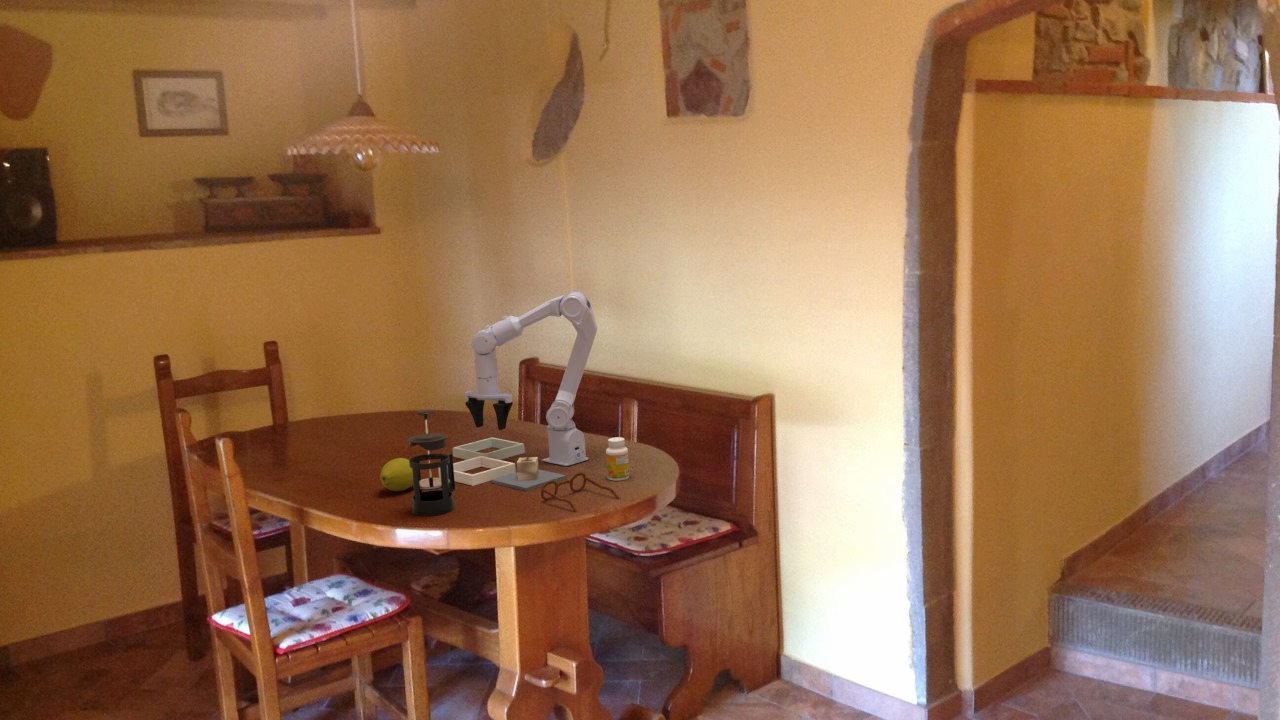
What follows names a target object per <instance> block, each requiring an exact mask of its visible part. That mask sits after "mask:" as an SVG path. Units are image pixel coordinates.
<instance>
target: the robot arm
mask: <svg viewBox="0 0 1280 720" xmlns="http://www.w3.org/2000/svg"><path fill="white" fill-rule="evenodd" d="M561 316H563V317H564V318H566V320H568V321H569V322H570V323H571V324H572V326H573V328H574V330H575V331H576V333H577V334H576V338H575V340H574V343H573V346H572V349H571V352H570V355H569V358H568V362H567V364H566V368H565V370H564V374H563V376H562V380H561V383H560V386H559V388H558V392H557V394H556V397H555V399H554V401H553V402H552V403H551V405H550V408H549V409H548V410H547V411H546V413H545V419H546V422H547V424H548V425H547V439H548V440H547V441H548V443H547V444H548V455H549V456H548V457H547V458H546V457H545V458H542V462H545V463H550V464H555V465H559V466H564V467H567V466H573V465H575V464H578V463H582V462H585V461H588V460H589V457H587V454H586V453H587V452H586V438H585V435H584V432H582V430H579V429H578V428H577V427H576V423H575V422H574V420H573V416H574V414H575V406H574V405H575V399H576V398H577V397H576V395H577V392H578V390H579V386H580V383H581V380H582V377H583V375H584V372H585V368H586V366H587V362H588V359H589V356H590V353H591V351H592V348H593V344H594V340H595V339H596V338H595V337H596V335H597V332H598V325H597V322H596V318H595V315H594V310H593V306H592V303H591V301H590V300H589V299H588V297H587V296H586V294H584V293H583V292H582V291H578V290H572V291H570V292H568V293H567V294H566V295H565V294H563V295H560V296H557V297H555V298H552V299H549V300H548V301H546V302H543V303H542V304H539V306H537V307H535V308H533V309H531V310H530V311H527V312H526V313H524V314H522V315H520V316H518V317H517V316H515V315H509V316H508V315H504V316H502V317H501V320H499V321H497V322H496V323H493V324H492V325H490V324H488V325H486V326H485V327H484V328H485V329H481V330H479V331H478V332H476V333H475V334H474V336H473V337H472V339H471V344H470V345H471V348H472V350H473V352H474V353H473V355H474V371H475V385H476V390H468V391H465V392H464V399H465V400H467V401H465V402H464V404H465V406H466V407H467V409H468V411H469V412H470V414H471V416H472V419H473V422H474V424H475V428H481V427H484V406H485V402H496V403H493V404H492V407H493V409H494V411H495V412H494V413H495V417H496V422H497V423H496V424H497V429H498V430H499V431H502V430H505V429H506V427H507V421H508V417H509V414H510V410H511V408H512V407H513V404H514V403H513V402H514V400H513V394H512V393H511V394H510V393H506V392H502V391H501V390H500V386H499V383H500V382H499V370H498V357H497V355H496V354H497V353H496V352H497V351H496V347H501V346H503V345H506V344H508V343H509V342H511V341H513V340H515V339H517V338H518V337H521V336H522V334H523V331H524V329H525V328H528V327H529V326H531V325H533V324H535V323H537V322H539V321H542V320H544V319H546V318H548V317H557V318H560V317H561Z"/></svg>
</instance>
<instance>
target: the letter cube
mask: <svg viewBox="0 0 1280 720" xmlns="http://www.w3.org/2000/svg"><path fill="white" fill-rule="evenodd" d="M516 468H517V469H516V470H517V471H516V472H518V480H537V478H538V475H539V470H540V468H539V458H538V456H531V457H530V456H529V457H519V458H518V460H517V461H516Z"/></svg>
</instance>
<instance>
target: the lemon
mask: <svg viewBox="0 0 1280 720" xmlns="http://www.w3.org/2000/svg"><path fill="white" fill-rule="evenodd" d="M379 479H380V482H381V484H382V485H383V487H384V488H385V489H387V490H389V491H392V492H396V493H397V492H402V491H406V490H408V489H409V488H410V487H413V485H412V484H413V483H414V482H413V470H412V468H410V466H409V459H407V458H404V457H397V458H393V459H391V460H389V461H388V462H386V463H385V464H384V465H383V467H382V468H381V470H380V474H379Z"/></svg>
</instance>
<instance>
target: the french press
mask: <svg viewBox="0 0 1280 720" xmlns="http://www.w3.org/2000/svg"><path fill="white" fill-rule="evenodd" d="M434 413H436V412H435V410H432V409H421V410H418V411H416V412H415V414H416V415H418V416H419V415H421V416H423V417H422V418H423V420H425V422H424V423H425V433H421V434H419V433H418V434H416V435H412V436H409V437H408V438H407V443H409V448H413V447H414V446H417V445H418V446H420V447H421V448H423V449H424V450H426V451H427V453H425V454H420V455H416V456H413V457H410V458H409V459H408V460H409V466H410V468H412V470H413V482H414V483H413V484H412V487H413V489H414V490H413V492H414V494H413V496H412V498H411V500H412V501H411V502H412V514H413V515H415V516H420V517H436V516H441V515H445V514H448V513H451V512H453V511H454V510H455V505H454V499H453V493H452V492H454V491H456V483H455V482H456V481H455V480H454V467H453V464H454V459H453V458H454V457H453V453H449V452H447V453H430V451H431V452H432V451H437V450H441V449H443V448H446V447H447V439H448V438H449V437H448V434H447V433H442V432H429V429H428V418H429V415H431V414H434ZM432 460H440V461H436V462H431V461H432ZM422 461H428V463H427V462H426V463H421V462H422ZM438 468H440V473H441V478H440V477H432V470H434V469H438ZM447 468H448V471H447ZM422 470H428V471H429V477H427V478H423V479H422V476H421V474H422V473H421V471H422ZM440 489H441V490H440Z"/></svg>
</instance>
